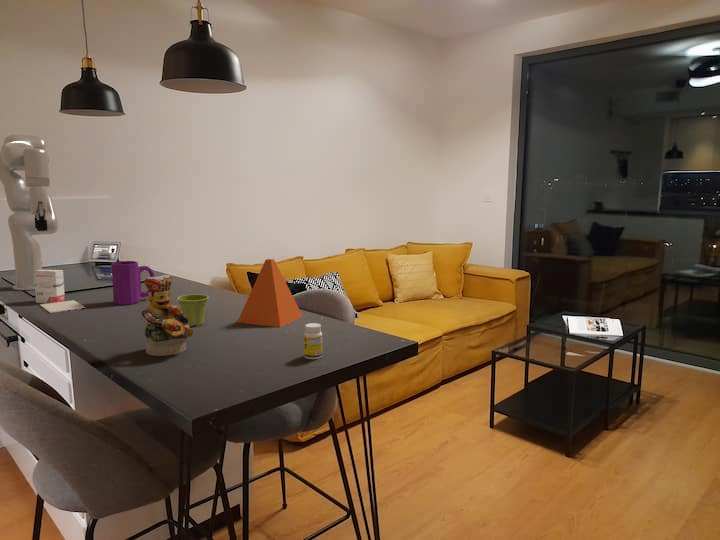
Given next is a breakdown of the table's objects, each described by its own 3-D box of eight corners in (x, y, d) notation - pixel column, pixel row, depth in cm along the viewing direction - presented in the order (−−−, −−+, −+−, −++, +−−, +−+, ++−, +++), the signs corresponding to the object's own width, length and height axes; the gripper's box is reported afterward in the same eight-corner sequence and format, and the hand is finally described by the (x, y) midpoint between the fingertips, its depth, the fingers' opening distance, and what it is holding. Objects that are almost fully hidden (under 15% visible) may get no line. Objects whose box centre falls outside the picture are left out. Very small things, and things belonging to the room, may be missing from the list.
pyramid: (236, 322, 169) (235, 261, 166) (262, 312, 184) (261, 255, 181) (280, 327, 164) (279, 264, 161) (302, 316, 178) (302, 257, 175)
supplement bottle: (304, 353, 138) (304, 322, 137) (322, 353, 138) (322, 322, 137) (303, 359, 133) (303, 327, 132) (322, 359, 134) (322, 327, 132)
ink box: (66, 300, 198) (63, 269, 196) (57, 303, 193) (54, 271, 191) (44, 299, 199) (41, 268, 197) (35, 302, 194) (32, 270, 192)
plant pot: (215, 322, 169) (214, 295, 168) (197, 329, 160) (196, 301, 159) (190, 319, 172) (189, 293, 171) (171, 326, 163) (170, 299, 162)
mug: (109, 302, 196) (107, 262, 194) (151, 296, 206) (149, 258, 204) (118, 306, 189) (115, 265, 187) (161, 300, 200) (159, 261, 197)
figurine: (144, 362, 130) (139, 282, 127) (142, 345, 144) (138, 273, 141) (195, 356, 135) (192, 279, 132) (189, 340, 149) (186, 270, 146)
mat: (40, 305, 189) (39, 304, 189) (73, 301, 197) (73, 300, 197) (50, 313, 178) (50, 312, 178) (85, 308, 186) (85, 307, 186)
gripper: (24, 181, 198) (28, 227, 201) (27, 183, 184) (31, 232, 187) (47, 182, 202) (50, 226, 205) (51, 183, 188) (55, 231, 191)
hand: (41, 229), depth 196 cm, fingers open, 9 cm apart
